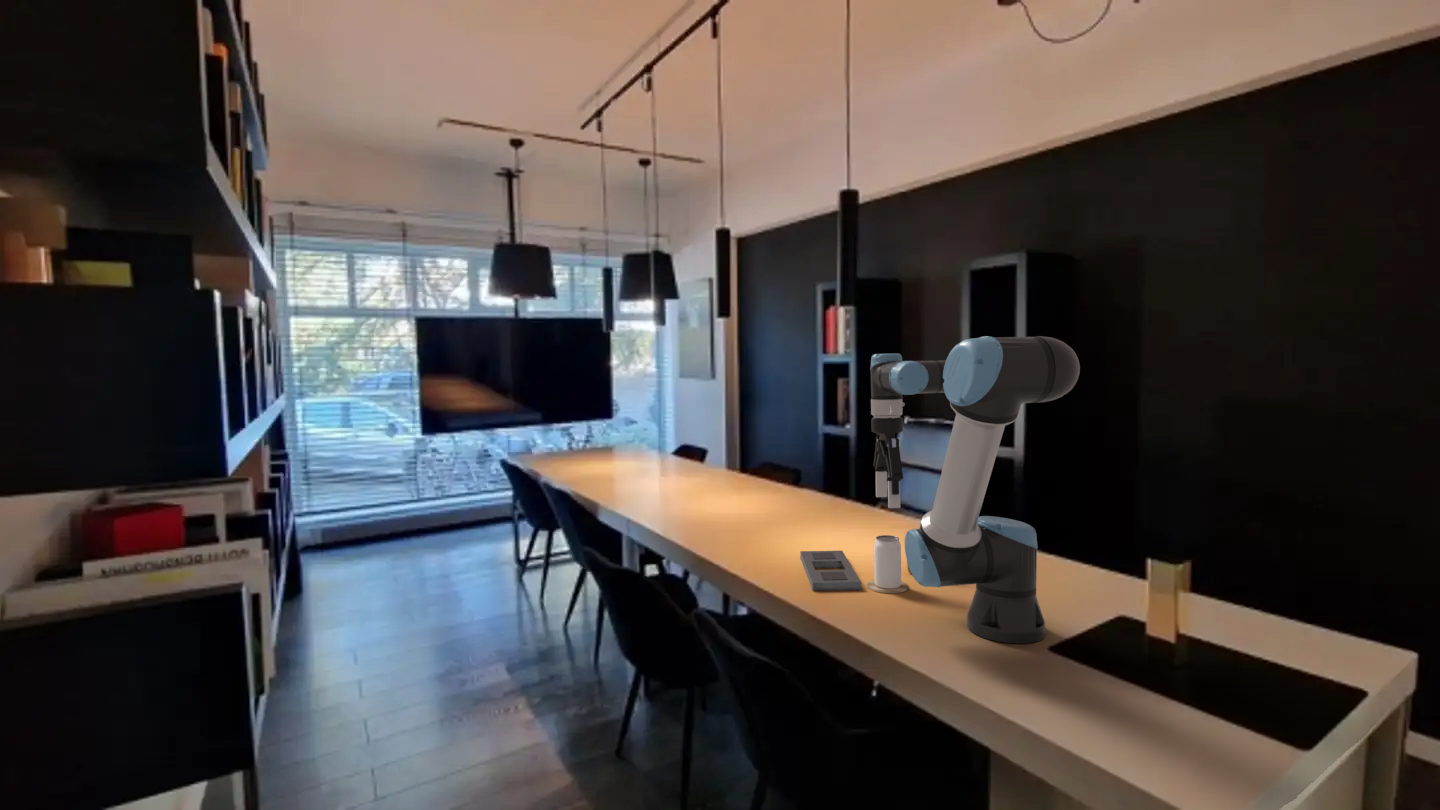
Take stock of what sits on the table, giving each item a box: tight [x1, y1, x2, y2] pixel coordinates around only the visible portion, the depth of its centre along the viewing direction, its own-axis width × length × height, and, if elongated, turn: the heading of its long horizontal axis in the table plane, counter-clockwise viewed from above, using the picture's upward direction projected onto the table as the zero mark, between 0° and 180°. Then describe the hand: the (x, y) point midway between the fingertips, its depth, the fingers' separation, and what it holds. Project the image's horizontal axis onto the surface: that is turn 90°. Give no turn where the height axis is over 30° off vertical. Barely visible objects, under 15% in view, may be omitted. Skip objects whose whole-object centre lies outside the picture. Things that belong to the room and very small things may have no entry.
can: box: [873, 534, 902, 589], centre depth 172 cm, size 6×6×12 cm
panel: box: [799, 550, 862, 592], centre depth 184 cm, size 28×12×2 cm, turn 0°
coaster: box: [867, 579, 910, 595], centre depth 172 cm, size 10×10×1 cm
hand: (887, 502), depth 171 cm, fingers open, 13 cm apart
